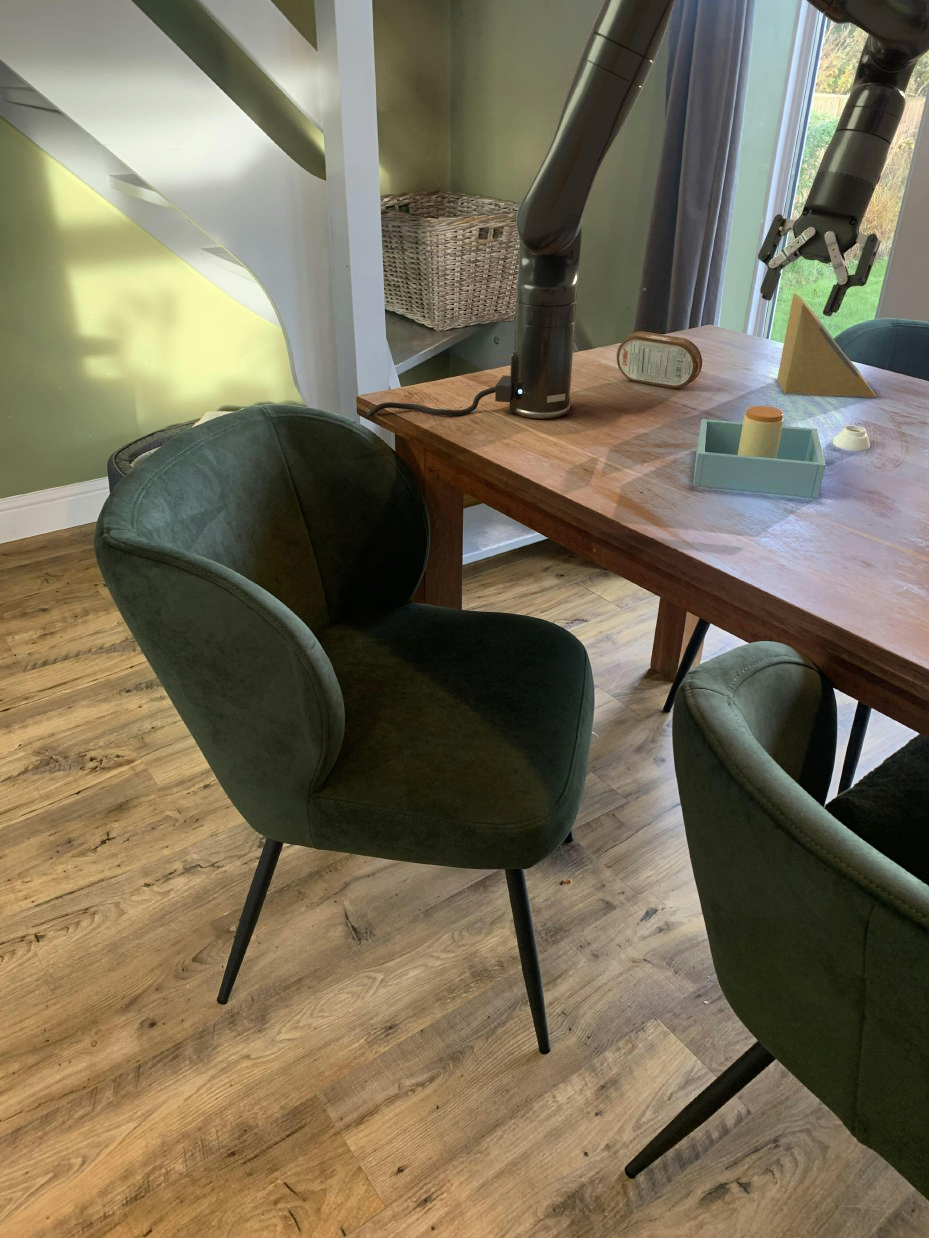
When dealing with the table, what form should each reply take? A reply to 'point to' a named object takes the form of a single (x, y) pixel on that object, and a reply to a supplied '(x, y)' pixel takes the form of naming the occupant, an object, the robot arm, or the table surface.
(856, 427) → the cream truncated cone
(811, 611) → the table surface
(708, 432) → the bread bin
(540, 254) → the robot arm
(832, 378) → the sandwich container
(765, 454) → the lidded cream canister
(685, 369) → the tin
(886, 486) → the table surface
